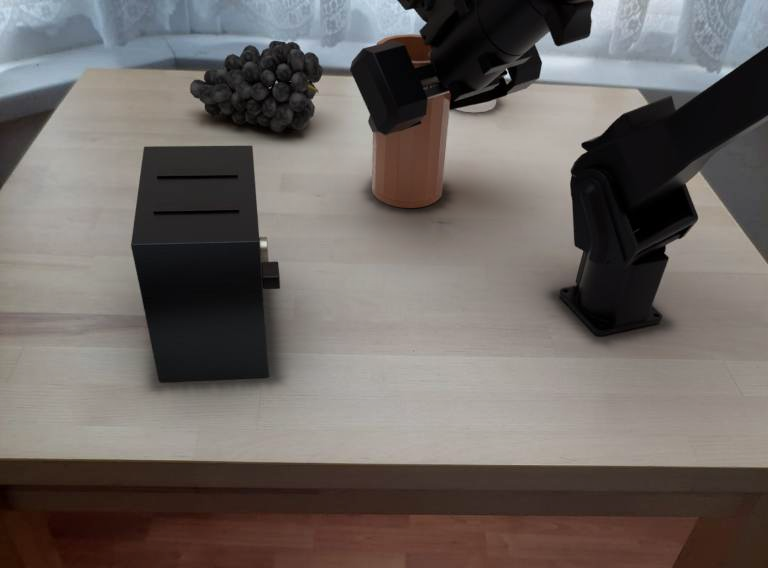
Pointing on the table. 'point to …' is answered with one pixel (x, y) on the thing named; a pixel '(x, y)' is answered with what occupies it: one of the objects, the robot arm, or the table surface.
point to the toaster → (202, 262)
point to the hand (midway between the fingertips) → (401, 117)
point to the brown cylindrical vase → (412, 146)
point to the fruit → (263, 87)
